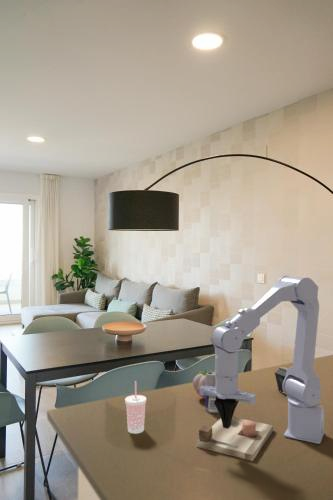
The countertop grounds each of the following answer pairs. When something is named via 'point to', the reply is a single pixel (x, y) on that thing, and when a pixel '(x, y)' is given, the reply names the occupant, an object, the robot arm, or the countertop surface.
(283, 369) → the electrical switch
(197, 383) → the decorative fruit
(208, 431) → the walnut slider
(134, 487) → the countertop surface
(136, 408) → the beverage cup
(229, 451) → the control panel
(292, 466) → the countertop surface
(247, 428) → the terracotta button
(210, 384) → the energy drink
